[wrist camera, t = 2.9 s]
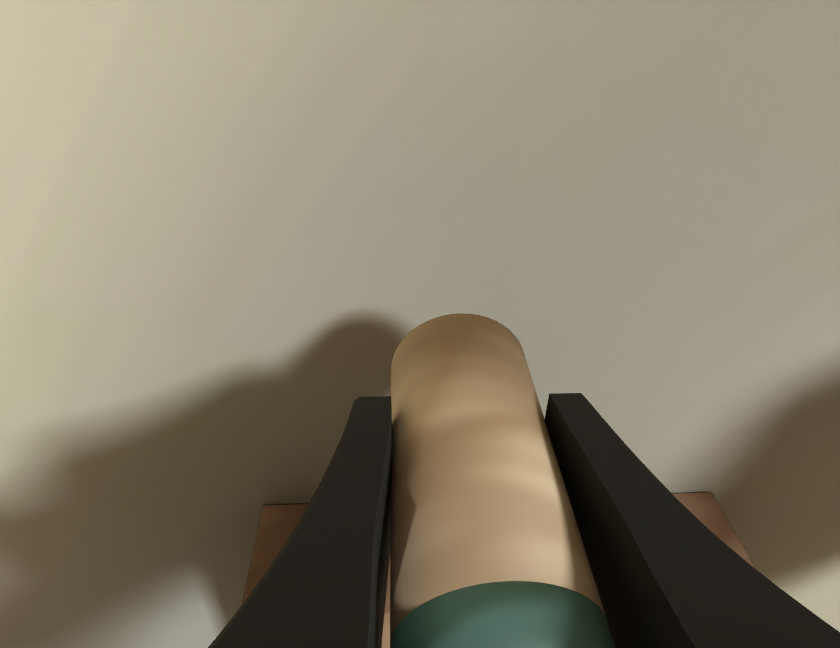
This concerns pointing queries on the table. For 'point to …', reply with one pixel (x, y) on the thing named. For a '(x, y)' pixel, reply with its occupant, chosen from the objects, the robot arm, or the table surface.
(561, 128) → the table surface
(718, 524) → the socket block
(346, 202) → the table surface
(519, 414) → the peg
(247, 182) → the table surface
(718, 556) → the robot arm
